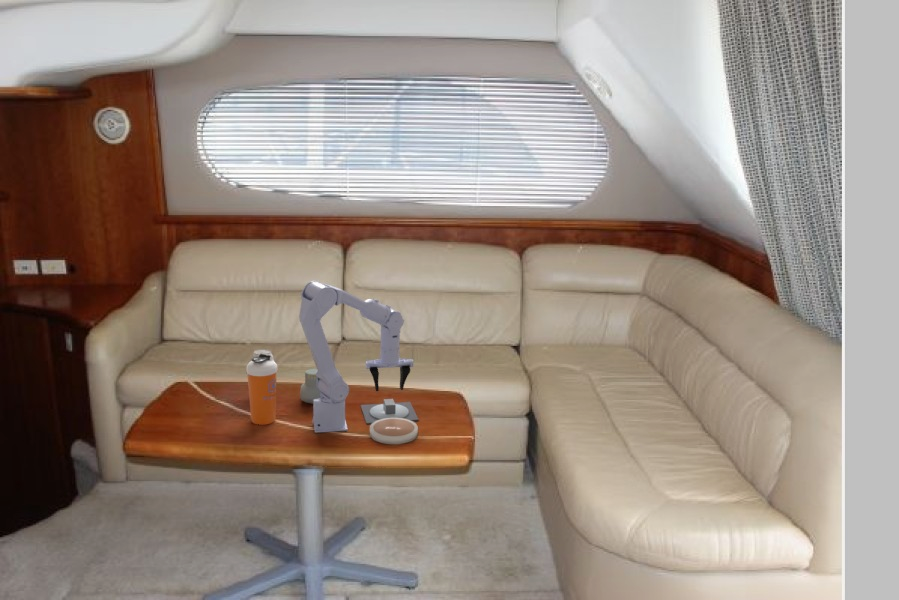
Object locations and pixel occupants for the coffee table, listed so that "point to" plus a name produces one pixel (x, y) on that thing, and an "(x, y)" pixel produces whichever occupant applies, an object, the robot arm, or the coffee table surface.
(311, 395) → the air freshener
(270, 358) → the shaker bottle
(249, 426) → the coffee table surface
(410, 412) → the mat
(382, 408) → the lid
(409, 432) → the dish
